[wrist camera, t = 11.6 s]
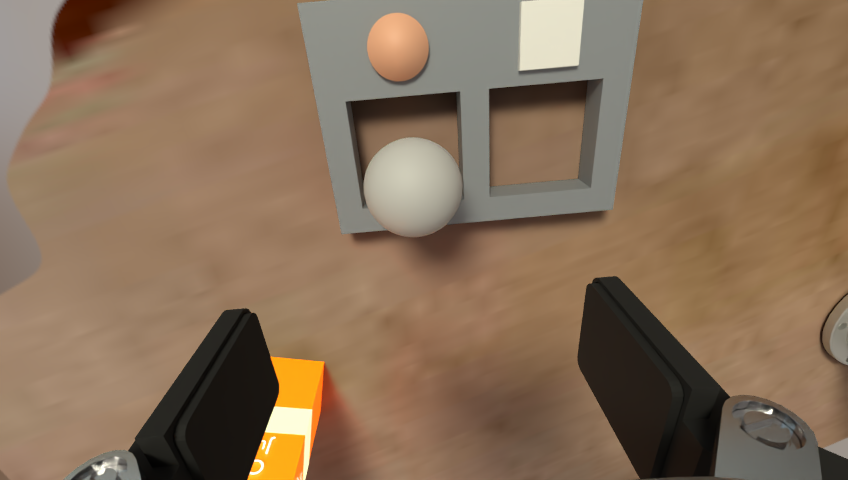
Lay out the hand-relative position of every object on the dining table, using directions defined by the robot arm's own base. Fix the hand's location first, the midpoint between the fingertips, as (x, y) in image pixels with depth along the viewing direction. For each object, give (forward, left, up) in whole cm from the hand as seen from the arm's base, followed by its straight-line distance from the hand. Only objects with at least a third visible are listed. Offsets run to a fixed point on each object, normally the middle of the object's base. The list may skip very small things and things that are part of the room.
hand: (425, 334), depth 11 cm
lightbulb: (0, 0, -22) cm, 23 cm away
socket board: (-5, -3, -22) cm, 23 cm away
